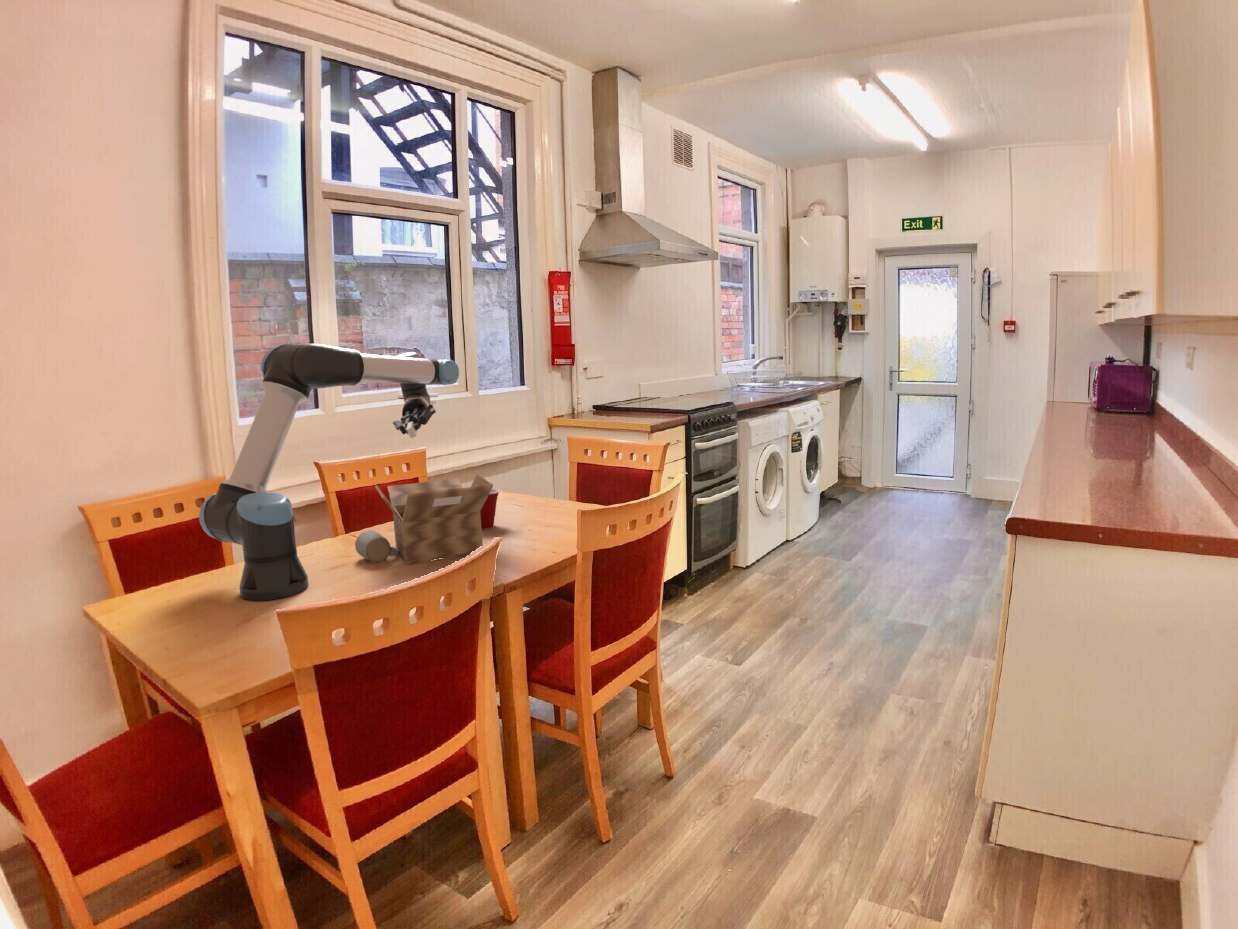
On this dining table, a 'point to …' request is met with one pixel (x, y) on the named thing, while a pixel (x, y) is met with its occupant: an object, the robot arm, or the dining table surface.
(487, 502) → the plastic cup
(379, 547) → the ceramic mug
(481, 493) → the carton flap
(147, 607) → the dining table surface
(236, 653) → the dining table surface
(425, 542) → the shipping carton
